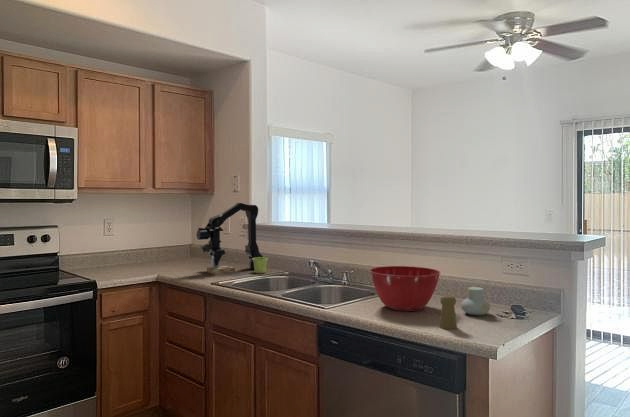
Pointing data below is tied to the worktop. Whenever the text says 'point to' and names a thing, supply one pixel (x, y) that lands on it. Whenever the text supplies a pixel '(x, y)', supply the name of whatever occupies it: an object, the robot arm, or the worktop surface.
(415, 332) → the worktop surface
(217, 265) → the plug
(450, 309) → the cork
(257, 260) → the plant pot
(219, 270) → the socket block
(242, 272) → the pad
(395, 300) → the mixing bowl
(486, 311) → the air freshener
